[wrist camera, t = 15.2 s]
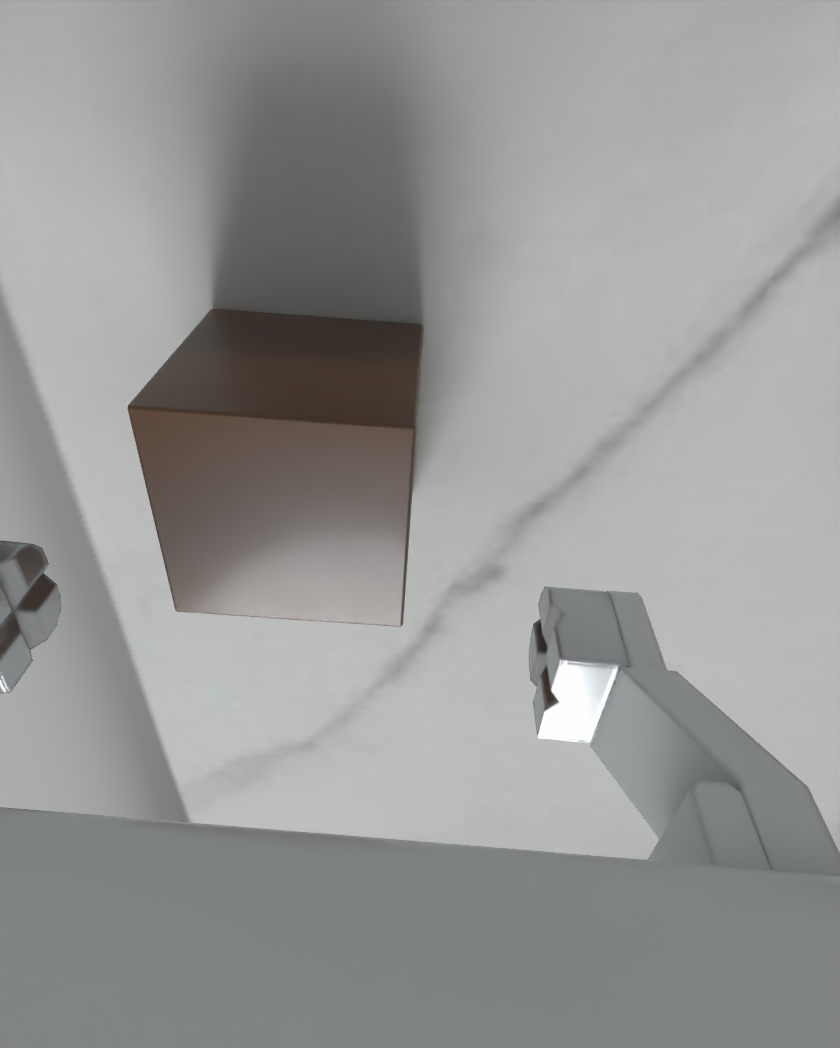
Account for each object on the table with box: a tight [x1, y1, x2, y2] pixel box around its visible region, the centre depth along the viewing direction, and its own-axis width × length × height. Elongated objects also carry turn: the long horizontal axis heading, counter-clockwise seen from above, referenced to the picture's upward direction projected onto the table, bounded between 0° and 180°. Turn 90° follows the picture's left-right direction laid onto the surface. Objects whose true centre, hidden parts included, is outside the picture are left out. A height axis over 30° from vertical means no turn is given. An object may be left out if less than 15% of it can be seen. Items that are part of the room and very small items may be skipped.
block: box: [128, 309, 424, 627], centre depth 13 cm, size 4×4×4 cm
